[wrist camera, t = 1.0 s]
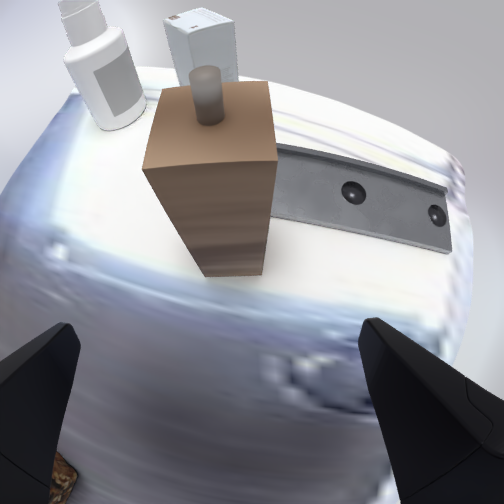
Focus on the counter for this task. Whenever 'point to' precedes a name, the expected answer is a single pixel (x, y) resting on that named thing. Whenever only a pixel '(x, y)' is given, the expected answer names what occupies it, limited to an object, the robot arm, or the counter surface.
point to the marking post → (216, 169)
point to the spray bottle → (101, 65)
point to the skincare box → (202, 43)
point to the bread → (61, 481)
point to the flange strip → (360, 198)
